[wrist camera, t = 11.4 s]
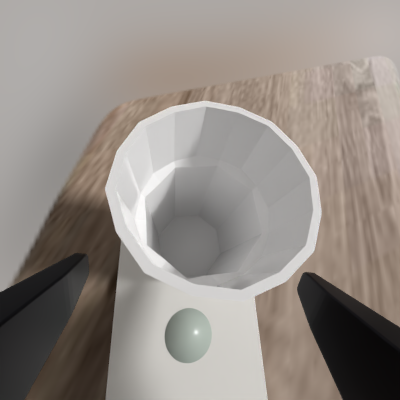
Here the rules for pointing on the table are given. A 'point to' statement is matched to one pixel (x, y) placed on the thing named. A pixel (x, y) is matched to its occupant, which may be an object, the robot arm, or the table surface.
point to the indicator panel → (180, 343)
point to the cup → (214, 201)
